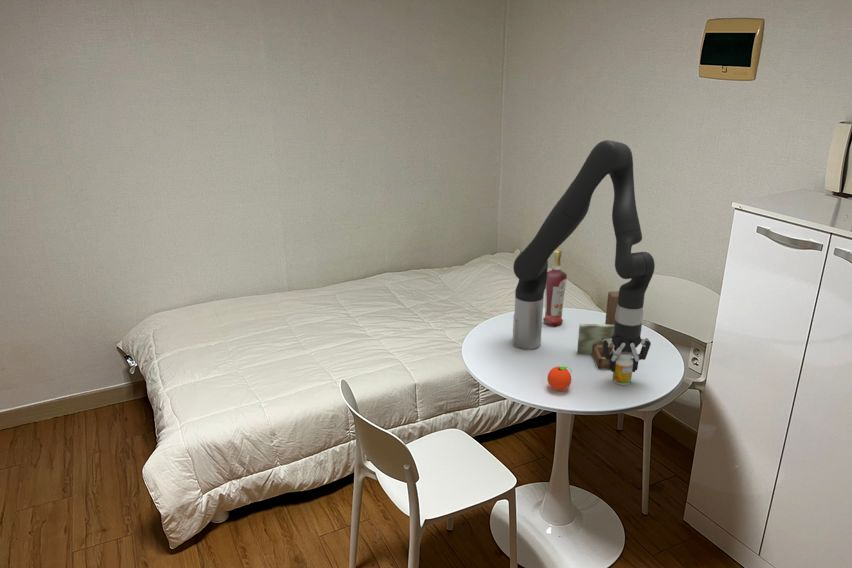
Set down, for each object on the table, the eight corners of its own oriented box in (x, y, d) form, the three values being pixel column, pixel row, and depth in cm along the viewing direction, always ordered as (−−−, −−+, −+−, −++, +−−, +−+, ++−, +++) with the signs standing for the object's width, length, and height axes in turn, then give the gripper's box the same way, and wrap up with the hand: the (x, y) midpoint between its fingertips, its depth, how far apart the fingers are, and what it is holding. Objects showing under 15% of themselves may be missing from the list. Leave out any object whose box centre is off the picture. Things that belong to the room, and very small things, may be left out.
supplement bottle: (609, 377, 188) (612, 348, 184) (626, 376, 188) (630, 347, 185) (616, 386, 183) (619, 356, 179) (633, 385, 183) (637, 355, 180)
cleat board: (583, 368, 193) (586, 339, 189) (577, 351, 204) (579, 324, 200) (642, 369, 192) (645, 340, 188) (632, 352, 203) (636, 324, 199)
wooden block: (629, 339, 212) (634, 290, 205) (633, 345, 208) (639, 295, 201) (603, 340, 211) (608, 291, 205) (607, 345, 207) (612, 296, 201)
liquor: (554, 329, 220) (559, 254, 210) (538, 322, 225) (542, 249, 215) (567, 323, 224) (573, 250, 214) (551, 317, 229) (556, 245, 219)
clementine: (563, 379, 187) (564, 359, 184) (578, 390, 181) (580, 368, 178) (541, 386, 183) (543, 365, 181) (556, 397, 177) (558, 375, 175)
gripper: (606, 324, 175) (600, 376, 181) (657, 324, 174) (650, 377, 180) (600, 313, 182) (595, 364, 188) (650, 314, 181) (643, 365, 187)
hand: (622, 370), depth 184 cm, fingers closed on supplement bottle, 5 cm apart
